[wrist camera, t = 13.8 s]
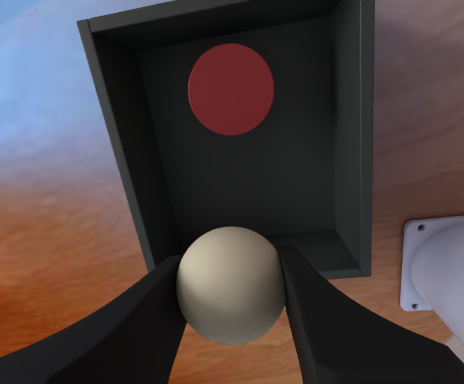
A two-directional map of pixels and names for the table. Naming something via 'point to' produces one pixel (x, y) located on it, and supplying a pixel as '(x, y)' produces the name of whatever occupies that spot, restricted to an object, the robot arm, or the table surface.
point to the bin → (253, 142)
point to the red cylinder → (231, 89)
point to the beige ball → (231, 285)
